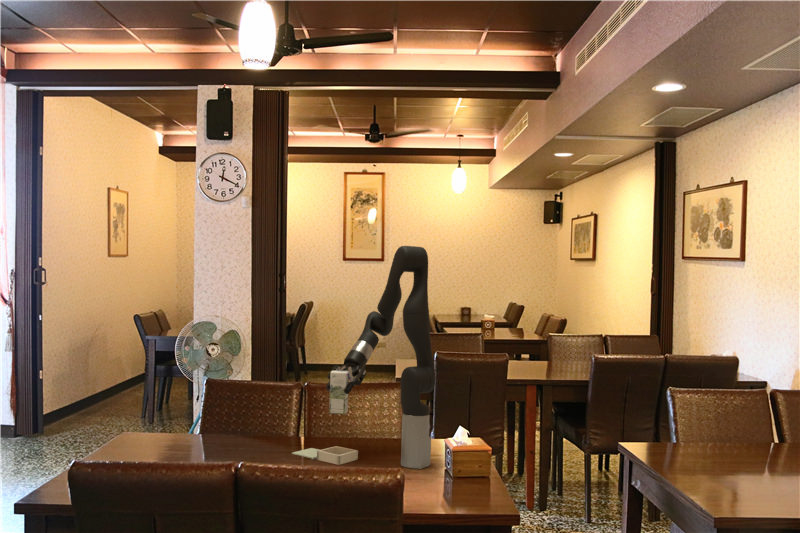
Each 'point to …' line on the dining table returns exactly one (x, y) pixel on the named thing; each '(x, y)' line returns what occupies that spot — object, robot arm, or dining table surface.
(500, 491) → the dining table surface
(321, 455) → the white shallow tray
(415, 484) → the dining table surface
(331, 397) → the syrup box
